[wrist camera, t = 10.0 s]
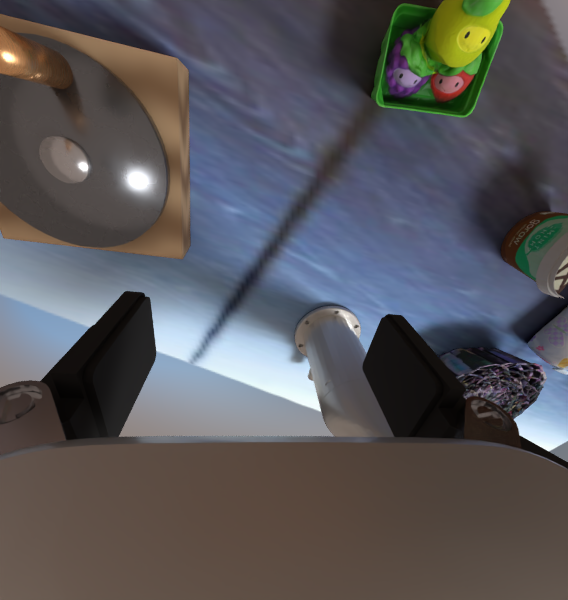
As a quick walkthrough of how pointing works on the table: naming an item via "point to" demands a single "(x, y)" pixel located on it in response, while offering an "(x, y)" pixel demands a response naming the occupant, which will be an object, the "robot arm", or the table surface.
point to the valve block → (167, 117)
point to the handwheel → (76, 146)
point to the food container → (540, 250)
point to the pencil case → (553, 342)
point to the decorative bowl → (497, 377)
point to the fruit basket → (438, 56)
